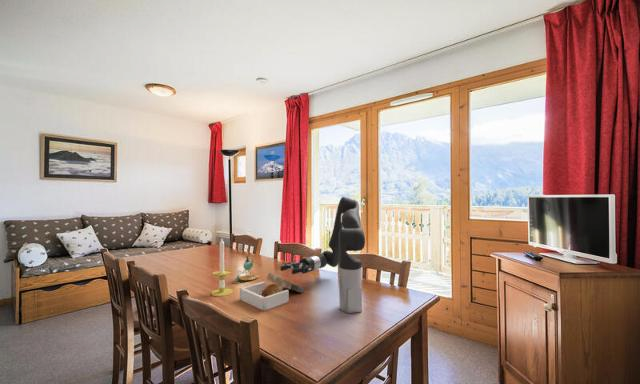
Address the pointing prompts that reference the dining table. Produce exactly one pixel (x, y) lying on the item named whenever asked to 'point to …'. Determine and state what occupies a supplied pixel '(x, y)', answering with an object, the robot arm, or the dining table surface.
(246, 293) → the box
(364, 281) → the dining table surface
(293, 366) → the dining table surface
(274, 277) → the scraper
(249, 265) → the frog figurine
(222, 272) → the candle
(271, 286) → the bread roll
